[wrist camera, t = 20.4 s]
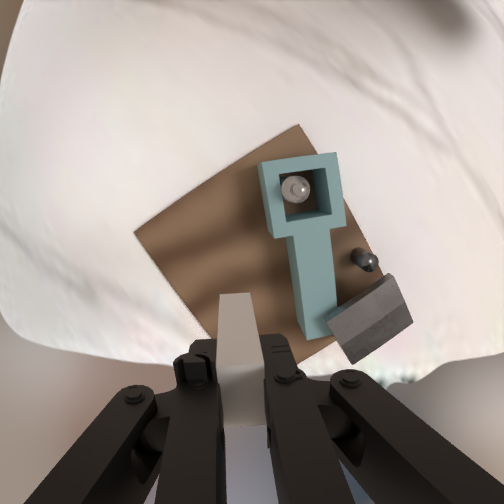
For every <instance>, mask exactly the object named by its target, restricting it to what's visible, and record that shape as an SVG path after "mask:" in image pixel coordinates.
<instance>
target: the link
mask: <svg viewBox="0 0 504 504" xmlns="http://www.w3.org/2000/svg"><path fill="white" fill-rule="evenodd" d="M257 169H258V175H259V180H260V186H261V192H262V198H263V204H264V210H265V216H266V222H267V228H268V231H269V232H270V234H271V235H272V236H273V237H274V239H276V238H282V237H286V244H287V251H288V257H289V264H290V271H291V278H292V285H293V292H294V300H295V307H296V315H297V321H298V323H299V325H300V327H301V329H302V331H303V333H304V335H305V337H306V340H311V339H316V338H320V337H324V336H328V335H333V333H332V331H331V330H330V328H329V327H328V325H327V323H326V322H325V320H324V318H323V317H324V316H326V315H327V314H329V313H330V312H332V311H334V310H335V309H337V297H336V286H335V275H334V265H333V256H332V247H331V238H330V230H329V229H332V228H338V227H343V226H347V225H346V217H345V209H344V201H343V193H342V186H341V179H340V172H339V166H338V160H337V153H336V152H333V153H324V154H316V155H308V156H301V157H293V158H286V159H279V160H273V161H266V162H261V163H259V164H257ZM311 169H312V174H313V181H314V187H315V194H316V201H317V208H318V210H312V211H306V212H300V213H294V214H288V215H285V211H284V204H283V198H282V192H281V186H280V180H279V174H283V173H290V172H297V171H304V170H311Z"/></svg>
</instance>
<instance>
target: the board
mask: <svg viewBox="0 0 504 504" xmlns="http://www.w3.org/2000/svg"><path fill="white" fill-rule="evenodd" d="M316 154H317V152H316V150H315V149H314V147H313V146H312V144H311V142H310V141H309V139H308V138H307V136H306V134H305V133H304V131H303V130H302V128H301V127H300V125H299V124H298V125H296V126H295V127H293V128H291V129H290V130H288V131H286V132H284V133H283V134H281V135H279V136H278V137H276V138H274V139H273V140H271V141H269V142H268V143H266V144H264V145H263V146H261V147H259V148H258V149H256V150H255V151H253V152H251V153H250V154H248V155H247V156H245V157H243V158H242V159H240V160H239V161H237V162H235V163H234V164H232V165H231V166H229V167H228V168H226V169H225V170H223V171H221V172H220V173H218V174H217V175H215V176H214V177H212V178H211V179H209V180H208V181H206V182H205V183H203V184H202V185H200V186H199V187H197V188H196V189H194V190H193V191H191V192H190V193H188V194H187V195H186V196H184V197H183V198H181V199H180V200H178V201H177V202H175V203H174V204H173V205H171V206H170V207H168V208H167V209H165V210H164V211H163V212H161V213H160V214H158V215H157V216H156V217H154V218H153V219H152V220H150V221H149V222H147V223H146V224H145V225H143V226H142V227H141V228H139V229H138V230H137V231H135V232H134V233H135V234H136V236H137V237H138V239H139V240H140V242H141V243H142V244H143V246H144V247H145V249H146V250H147V252H148V253H149V255H150V256H151V257H152V259H153V260H154V262H155V263H156V264H157V266H158V267H159V269H160V270H161V271H162V273H163V274H164V276H165V277H166V278H167V280H168V281H169V282H170V284H171V285H172V287H173V288H174V289H175V291H176V292H177V293H178V295H179V296H180V297H181V299H182V300H183V301H184V303H185V304H186V305H187V307H188V308H189V309H190V311H191V312H192V313H193V314H194V316H195V317H196V318H197V320H198V321H199V322H200V324H201V325H202V326H203V327H204V329H205V330H206V331H207V332H208V334H209V335H210V336H211V337H212V339H217V335H218V317H219V300H220V294H234V293H249V292H250V295H251V300H252V305H253V310H254V315H255V320H256V325H257V330H258V335H265V334H277V333H280V334H282V335H283V336H285V337H286V338H287V340H288V342H289V346H290V348H291V351H292V353H293V356H294V359H295V361H296V364H299V363H300V362H302V361H304V360H305V359H307V358H309V357H310V356H312V355H314V354H315V353H317V352H319V351H320V350H322V349H323V348H325V347H327V346H328V345H330V344H331V343H333V342H334V341H336V340H335V338H334V337H333V335H328V336H324V337H320V338H316V339H311V340H306V337H305V335H304V333H303V331H302V329H301V327H300V325H299V323H298V321H297V315H296V307H295V300H294V292H293V285H292V278H291V271H290V264H289V257H288V251H287V244H286V237H282V238H276V239H274V237H273V236H272V235H271V234H270V232H269V231H268V228H267V222H266V216H265V210H264V204H263V198H262V192H261V186H260V180H259V175H258V169H257V164H259V163H261V162H266V161H273V160H279V159H286V158H293V157H301V156H308V155H316ZM284 176H301V177H303V178H305V179H306V180H307V182H308V183H309V186H310V194H309V196H308V198H307V199H306V200H305V201H303V202H301V203H292V202H290V201H287V200H284V199H283V204H284V211H285V215H288V214H294V213H300V212H306V211H312V210H318V208H317V201H316V194H315V187H314V181H313V174H312V169H311V170H304V171H297V172H290V173H283V174H279V178H280V177H284ZM343 201H344V209H345V217H346V225H347V226H343V227H338V228H332V229H329V230H330V238H331V247H332V256H333V265H334V275H335V286H336V297H337V308H338V307H340V306H341V305H343V304H344V303H346V302H347V301H349V300H350V299H352V298H353V297H354V296H356V295H357V294H359V293H360V292H362V291H363V290H365V289H366V288H368V287H369V286H370V285H372V284H373V283H375V282H376V281H378V280H379V279H380V278H382V277H383V276H384V275H383V273H382V271H381V269H380V267H379V265H378V267H377V268H376V269H375V270H374V271H373V272H366V271H364V270H363V269H361V268H360V267H358V266H357V265H356V264H354V263H353V262H352V261H351V259H350V255H351V252H352V251H353V249H355V248H357V247H361V248H363V249H365V250H367V251H369V252H370V253H372V251H371V249H370V247H369V245H368V243H367V241H366V239H365V237H364V235H363V233H362V231H361V230H360V228H359V226H358V224H357V222H356V220H355V218H354V216H353V215H352V213H351V211H350V209H349V207H348V205H347V204H346V202H345V200H344V198H343ZM372 254H373V253H372Z"/></svg>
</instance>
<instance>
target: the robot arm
mask: <svg viewBox="0 0 504 504" xmlns="http://www.w3.org/2000/svg"><path fill="white" fill-rule="evenodd" d="M173 366H174V371H175V376H176V381H177V386H176V388H175V389H173V390H171V391H169V392H165V393H160V394H156V395H154V392H153V390H152V389H151V388H149V387H147V386H144V385H133V386H128V387H126V388H123V389H121V390H120V391H119V392H118V393H117V394H116V395H115V396H114V397H113V398H112V399H111V401H110V402H109V403H108V404H107V405H106V407H105V408H104V409H103V410H102V411H101V412H100V414H99V415H98V416H97V417H96V418H95V419H94V421H93V422H92V423H91V424H90V426H89V427H88V428H87V429H86V430H85V431H84V432H83V434H82V435H81V436H80V437H79V438H78V439H77V441H76V442H75V443H74V444H73V445H72V447H71V448H70V449H69V450H68V451H67V452H66V454H65V455H64V456H63V457H62V458H61V460H60V461H59V462H58V463H57V464H56V466H55V467H54V468H53V469H52V470H51V471H50V473H49V474H48V475H47V476H46V477H45V479H44V480H43V481H42V482H41V483H40V485H39V486H38V487H37V488H36V489H35V491H34V492H33V493H32V494H31V495H30V497H29V498H28V499H27V500H26V501H25V503H24V504H144V502H145V500H146V498H147V496H148V494H149V492H150V490H151V488H152V487H153V485H154V483H155V481H156V479H157V477H158V475H159V480H158V485H157V491H156V498H155V503H154V504H227V494H226V458H225V434H224V427H242V426H254V425H255V426H256V425H266V422H267V444H268V448H270V454H271V460H272V467H273V473H274V478H275V484H276V490H277V496H278V502H279V504H355V501H354V499H353V496H352V493H351V491H350V488H349V486H348V483H347V481H346V478H345V475H344V473H343V470H342V467H341V465H340V462H339V460H340V461H341V462H342V464H343V465H344V466H345V467H346V468H347V470H348V471H349V472H350V473H351V474H352V476H353V477H354V478H355V480H357V482H358V483H359V485H360V486H361V487H362V488H363V489H364V491H365V492H366V493H367V494H368V495H369V497H370V498H371V499H372V500H373V501H374V503H375V504H504V485H503V484H502V483H500V482H499V481H498V480H497V479H495V478H494V477H493V476H491V475H490V474H489V473H488V472H486V471H485V470H484V469H483V468H481V467H480V466H479V465H478V464H476V463H475V462H474V461H472V460H471V459H470V458H469V457H467V456H466V455H465V454H464V453H462V452H461V451H460V450H458V449H457V448H456V447H455V446H454V445H452V444H451V443H450V442H449V441H447V440H446V439H445V438H444V437H443V436H441V435H440V434H439V433H438V432H436V431H435V430H434V429H433V428H431V427H430V426H429V425H427V424H426V423H425V422H424V421H423V420H422V419H420V418H419V417H418V416H416V415H415V414H414V413H413V412H412V411H410V410H409V409H408V408H407V407H406V406H405V405H403V404H402V403H401V402H400V401H398V400H397V399H396V398H395V397H394V396H392V395H391V394H390V393H389V392H388V391H386V390H385V389H384V388H383V387H382V386H380V385H379V384H378V383H377V382H376V381H374V380H373V379H372V378H371V377H370V376H368V375H367V374H365V373H364V372H362V371H358V370H353V369H346V370H341V371H338V372H336V373H334V374H333V375H332V377H331V379H330V381H317V380H312V379H309V378H307V377H306V374H305V373H304V372H303V371H302V370H300V369H298V367H297V364H296V361H295V359H294V356H293V353H292V351H291V348H290V346H289V342H288V340H287V338H286V337H285V336H283V335H282V334H280V333H277V334H265V335H258V330H257V325H256V320H255V315H254V310H253V305H252V300H251V295H250V292H249V293H234V294H220V300H219V317H218V335H217V339H201V340H195V341H194V342H193V343H192V344H191V345H190V348H189V353H186V354H183V355H180V356H179V357H177V358H176V359H175V360H174V362H173ZM338 458H339V460H338ZM159 473H160V474H159Z"/></svg>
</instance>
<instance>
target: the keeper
mask: <svg viewBox="0 0 504 504" xmlns="http://www.w3.org/2000/svg"><path fill="white" fill-rule="evenodd" d="M350 259H351V261H352V262H353V263H354V264H356V265H357V266H358V267H360V268H361V269H363V270H364V271H366V272H373V271H374V270H375V269H376V268H377V267H378V263H379V261H378V258H377V256H376V255H374V254H372V253H370V252H369V251H367V250H365V249H363V248H361V247H357V248H355V249H353V251H352V252H351V255H350ZM323 318H324V320H325V322H326V323H327V325H328V327H329V328H330V330H331V331H332V333H333V337H334V338H335V340H336V341H337V343H338V344H339V346H340V347H341V349H342V350H343V352H344V353H345V355H346V356H347V358H348V360H349V361H350V363H351V364H352V365H353V364H355V363H356V362H358V361H359V360H361V359H363V358H364V357H366V356H367V355H369V354H370V353H371V352H373V351H374V350H376V349H377V348H379V347H380V346H382V345H383V344H385V343H386V342H387V341H389V340H390V339H392V338H393V337H394V336H396V335H397V334H399V333H400V332H401V331H403V330H404V329H405V328H407V327H408V326H409V325H411V324H412V323H413V320H412V317H411V315H410V312H409V310H408V308H407V305H406V303H405V301H404V298H403V296H402V294H401V291H400V289H399V287H398V285H397V282H396V280H395V278H394V276H393V275H391V274H389V273H387V274H386V275H385V276H383V277H382V278H380V279H379V280H378V281H376V282H375V283H373V284H372V285H370V286H369V287H368V288H366V289H365V290H363V291H362V292H360V293H359V294H357V295H356V296H354V297H353V298H352V299H350V300H349V301H347V302H346V303H344V304H343V305H341V306H340V307H338V308H337V309H335V310H334V311H332V312H330V313H329V314H327V315H326V316H324V317H323Z"/></svg>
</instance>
